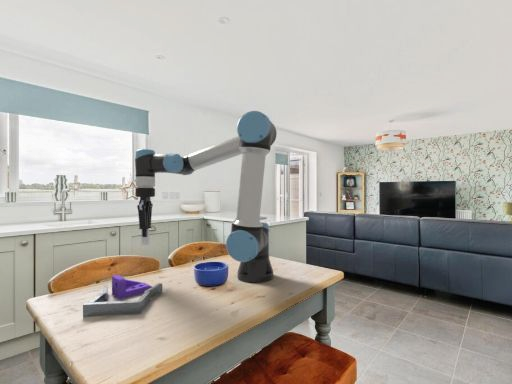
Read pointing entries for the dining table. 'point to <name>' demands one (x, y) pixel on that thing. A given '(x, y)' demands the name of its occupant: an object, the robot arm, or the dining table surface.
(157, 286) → the spouted tray
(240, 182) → the robot arm
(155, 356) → the dining table surface
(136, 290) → the bracket
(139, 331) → the dining table surface
